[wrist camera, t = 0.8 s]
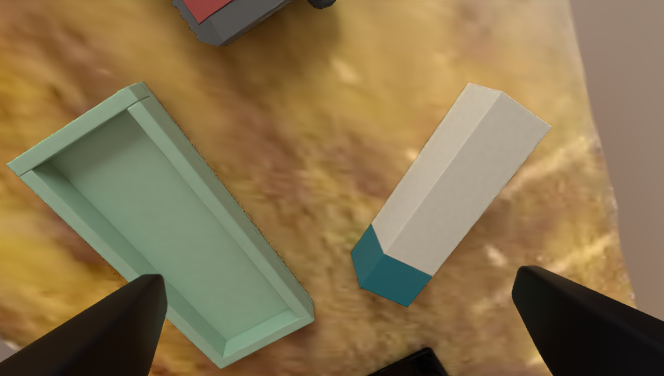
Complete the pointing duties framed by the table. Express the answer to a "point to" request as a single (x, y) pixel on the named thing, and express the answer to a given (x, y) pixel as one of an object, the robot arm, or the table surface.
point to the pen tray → (167, 223)
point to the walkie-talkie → (230, 16)
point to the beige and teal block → (445, 191)
